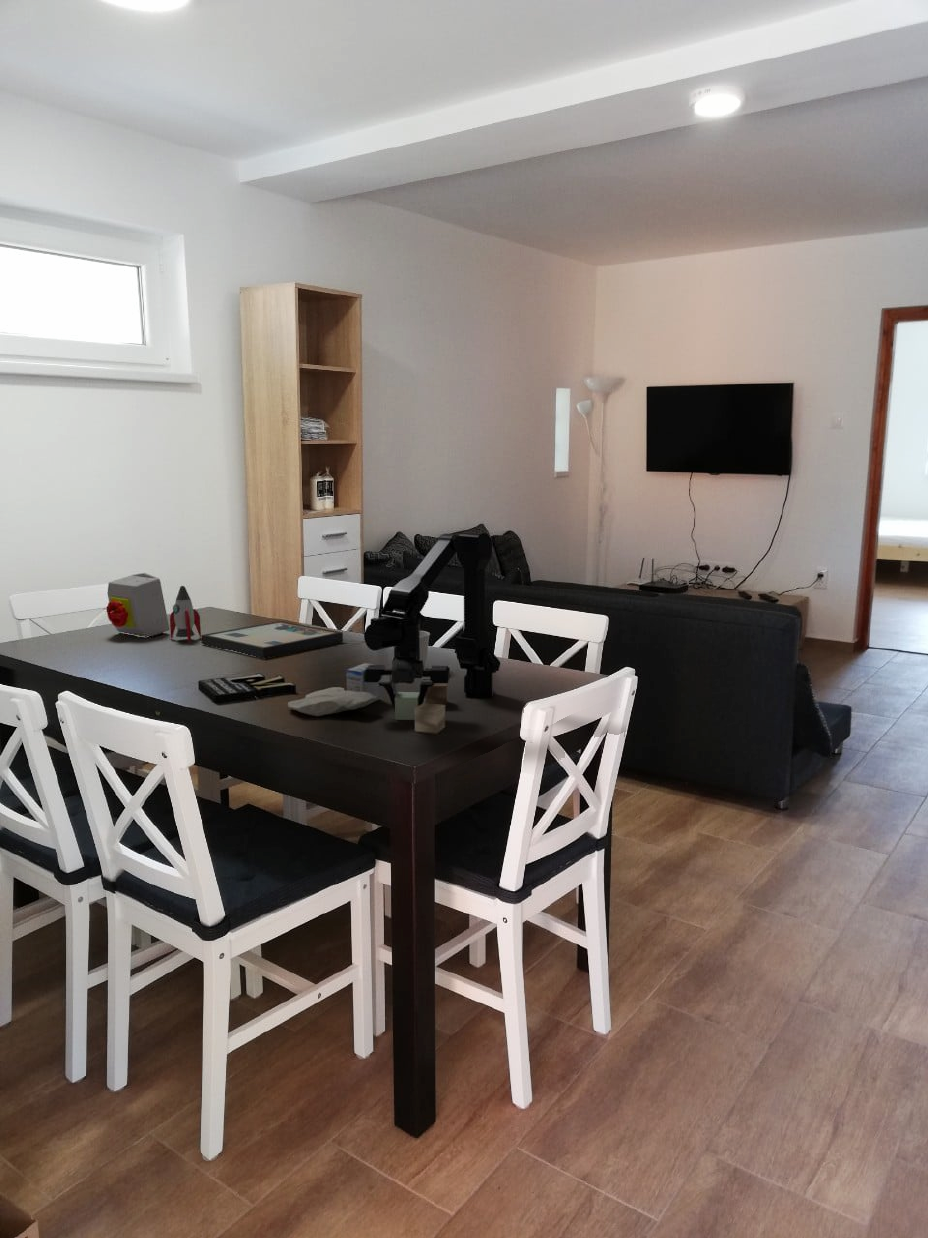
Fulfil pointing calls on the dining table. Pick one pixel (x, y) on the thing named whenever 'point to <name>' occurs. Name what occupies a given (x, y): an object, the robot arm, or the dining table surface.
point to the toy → (184, 616)
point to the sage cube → (406, 705)
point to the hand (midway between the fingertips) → (407, 711)
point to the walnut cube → (437, 694)
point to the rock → (331, 701)
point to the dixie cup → (424, 646)
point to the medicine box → (361, 681)
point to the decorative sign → (244, 688)
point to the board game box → (273, 639)
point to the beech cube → (429, 718)
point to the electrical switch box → (137, 605)
